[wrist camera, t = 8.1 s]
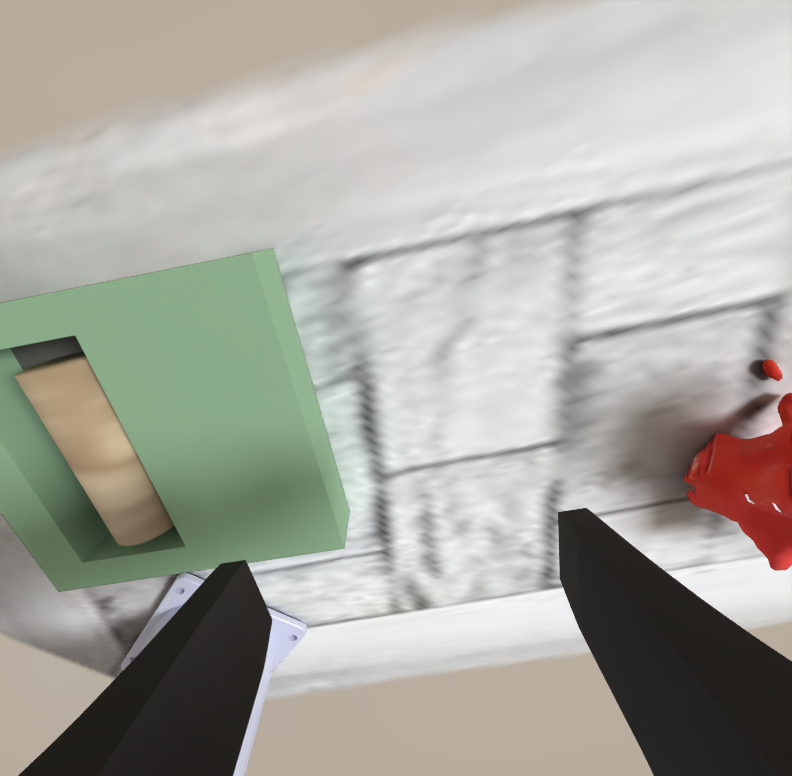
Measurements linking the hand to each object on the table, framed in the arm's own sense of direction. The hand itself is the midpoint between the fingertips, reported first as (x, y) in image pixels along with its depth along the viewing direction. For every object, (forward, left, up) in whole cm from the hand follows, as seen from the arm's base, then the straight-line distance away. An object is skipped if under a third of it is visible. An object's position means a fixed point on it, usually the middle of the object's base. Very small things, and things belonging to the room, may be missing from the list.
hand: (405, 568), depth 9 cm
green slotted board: (-7, +8, -9) cm, 14 cm away
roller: (-8, +9, -8) cm, 15 cm away
